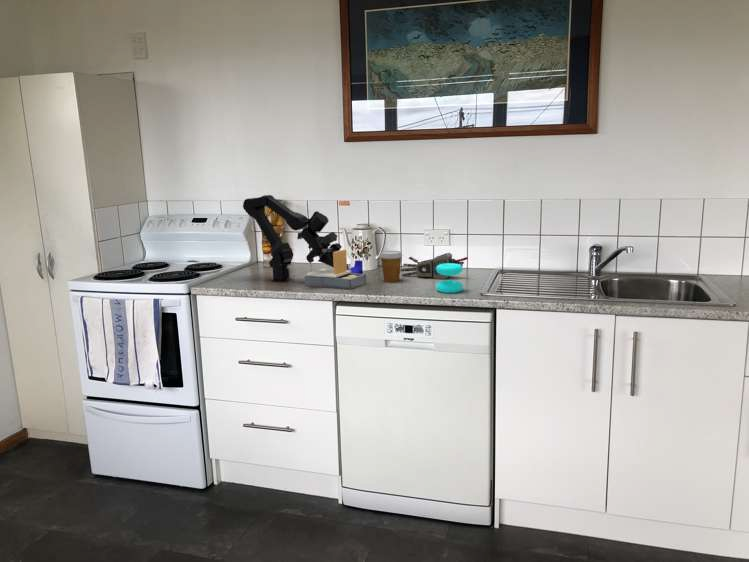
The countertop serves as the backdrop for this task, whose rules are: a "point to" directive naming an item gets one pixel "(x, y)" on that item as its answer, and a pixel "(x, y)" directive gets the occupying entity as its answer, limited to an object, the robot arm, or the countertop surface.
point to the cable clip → (356, 267)
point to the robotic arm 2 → (431, 266)
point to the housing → (337, 281)
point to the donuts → (449, 285)
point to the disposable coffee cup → (391, 265)
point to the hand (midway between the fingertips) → (337, 267)
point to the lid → (339, 266)
